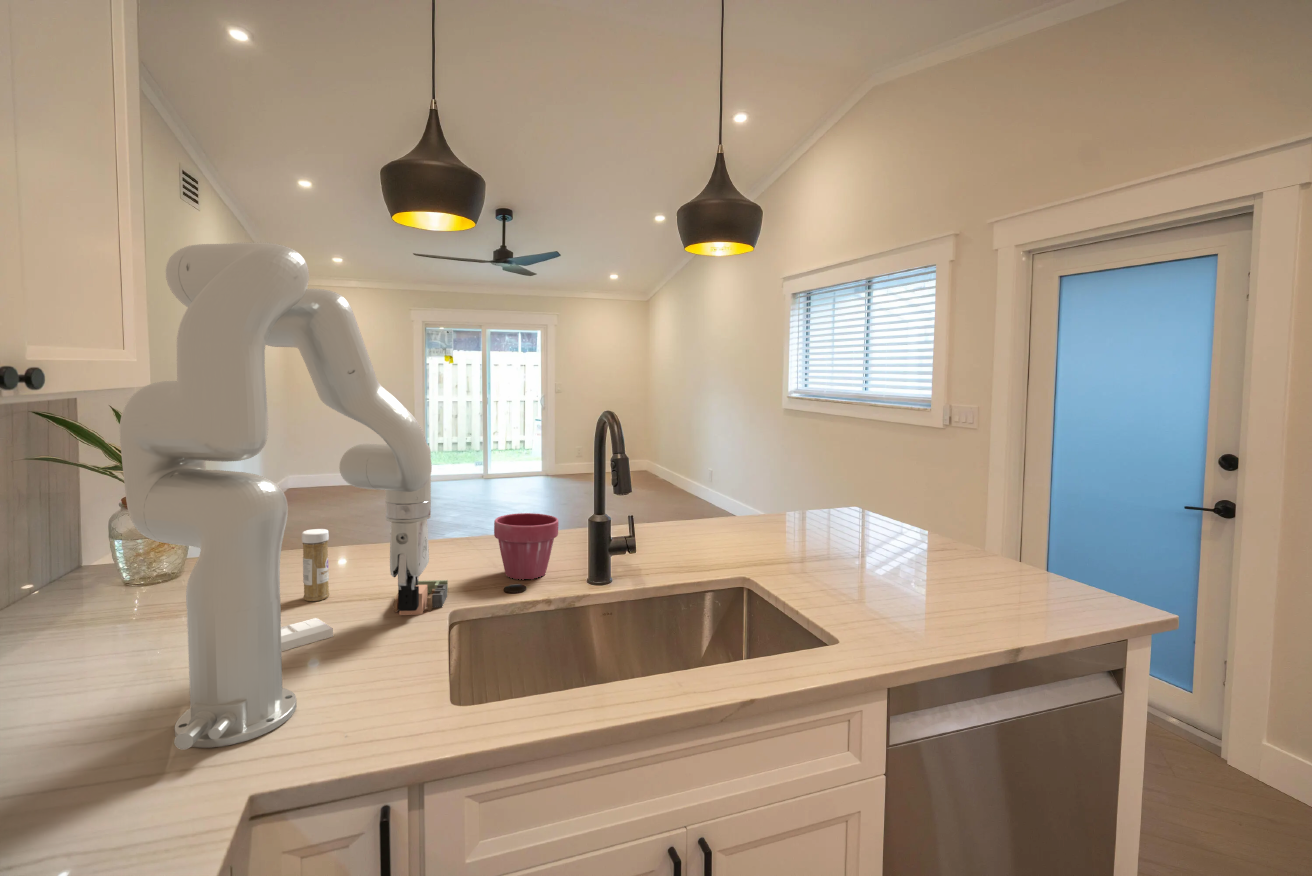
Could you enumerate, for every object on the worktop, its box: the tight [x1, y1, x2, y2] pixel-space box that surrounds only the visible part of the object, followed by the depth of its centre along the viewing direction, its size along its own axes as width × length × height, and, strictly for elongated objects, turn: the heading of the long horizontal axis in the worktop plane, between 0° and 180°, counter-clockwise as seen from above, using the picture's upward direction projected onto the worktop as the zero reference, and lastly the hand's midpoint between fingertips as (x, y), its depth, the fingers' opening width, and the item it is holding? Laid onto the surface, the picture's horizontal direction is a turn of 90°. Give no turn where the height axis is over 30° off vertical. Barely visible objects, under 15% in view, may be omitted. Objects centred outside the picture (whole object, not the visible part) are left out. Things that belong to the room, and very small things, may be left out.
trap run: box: [393, 579, 449, 613], centre depth 118 cm, size 10×8×2 cm
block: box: [398, 585, 428, 616], centre depth 114 cm, size 5×4×4 cm
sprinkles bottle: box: [301, 528, 330, 602], centre depth 117 cm, size 5×5×14 cm
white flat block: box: [281, 617, 334, 652], centre depth 99 cm, size 5×9×3 cm, turn 141°
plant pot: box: [493, 512, 559, 581], centre depth 136 cm, size 14×14×13 cm
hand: (408, 608), depth 109 cm, fingers closed
